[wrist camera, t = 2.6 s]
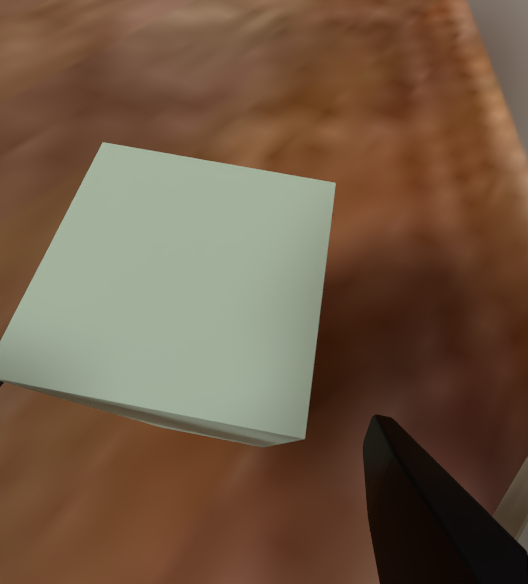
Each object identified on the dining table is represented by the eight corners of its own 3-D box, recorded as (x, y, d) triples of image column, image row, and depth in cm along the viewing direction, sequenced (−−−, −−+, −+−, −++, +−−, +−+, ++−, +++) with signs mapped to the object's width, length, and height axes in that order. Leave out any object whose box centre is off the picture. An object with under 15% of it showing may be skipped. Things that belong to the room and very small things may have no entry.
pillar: (263, 447, 17) (304, 439, 5) (160, 427, 17) (-18, 375, 5) (280, 346, 19) (335, 182, 7) (188, 329, 19) (102, 142, 7)
